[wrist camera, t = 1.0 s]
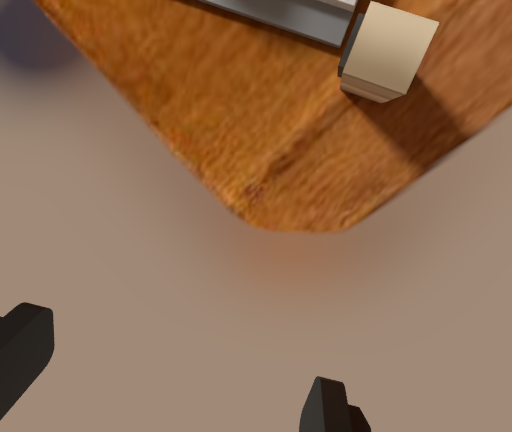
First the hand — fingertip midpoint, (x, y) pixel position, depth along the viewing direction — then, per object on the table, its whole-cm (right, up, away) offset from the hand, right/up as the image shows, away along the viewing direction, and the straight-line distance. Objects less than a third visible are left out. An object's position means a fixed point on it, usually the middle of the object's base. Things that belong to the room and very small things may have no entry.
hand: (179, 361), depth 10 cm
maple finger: (+12, +16, +17) cm, 26 cm away
